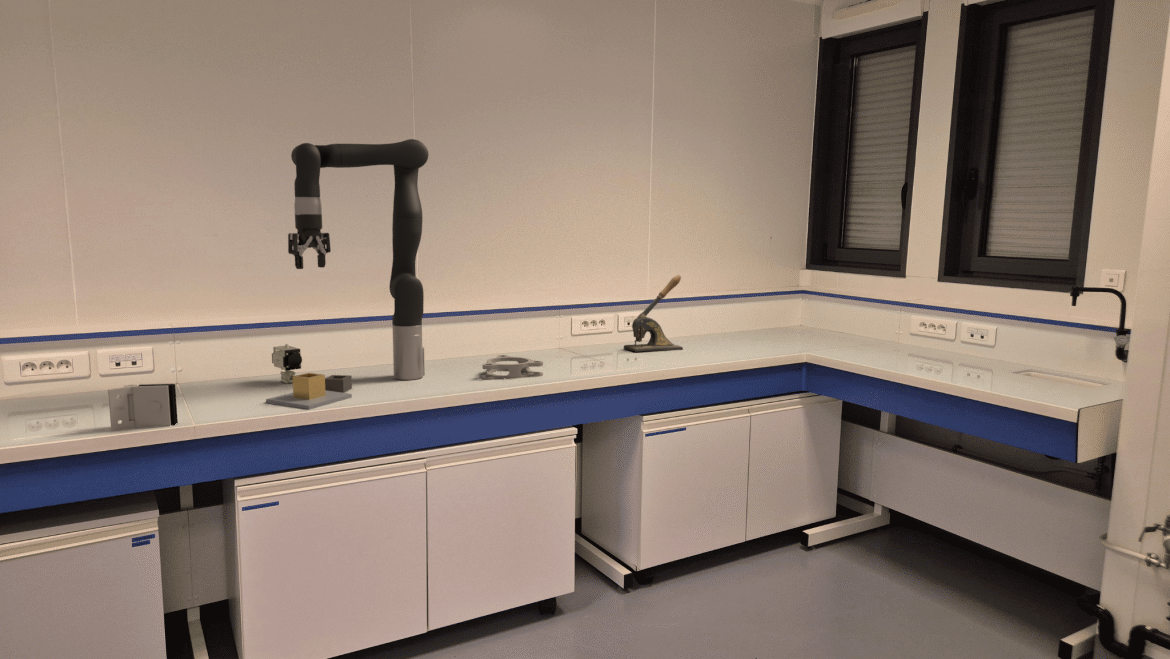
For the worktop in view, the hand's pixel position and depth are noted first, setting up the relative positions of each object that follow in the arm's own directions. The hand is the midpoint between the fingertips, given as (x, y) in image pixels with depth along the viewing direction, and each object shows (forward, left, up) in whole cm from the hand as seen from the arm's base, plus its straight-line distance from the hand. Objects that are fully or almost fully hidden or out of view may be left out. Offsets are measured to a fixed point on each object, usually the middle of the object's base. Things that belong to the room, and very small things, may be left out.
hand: (310, 268), depth 224 cm
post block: (+14, +12, -36) cm, 40 cm away
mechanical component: (-46, +40, -37) cm, 71 cm away
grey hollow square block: (+1, +10, -36) cm, 37 cm away
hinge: (+53, -2, -36) cm, 64 cm away
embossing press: (-116, +66, -36) cm, 138 cm away
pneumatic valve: (0, -12, -36) cm, 38 cm away
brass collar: (+14, +12, -35) cm, 39 cm away
